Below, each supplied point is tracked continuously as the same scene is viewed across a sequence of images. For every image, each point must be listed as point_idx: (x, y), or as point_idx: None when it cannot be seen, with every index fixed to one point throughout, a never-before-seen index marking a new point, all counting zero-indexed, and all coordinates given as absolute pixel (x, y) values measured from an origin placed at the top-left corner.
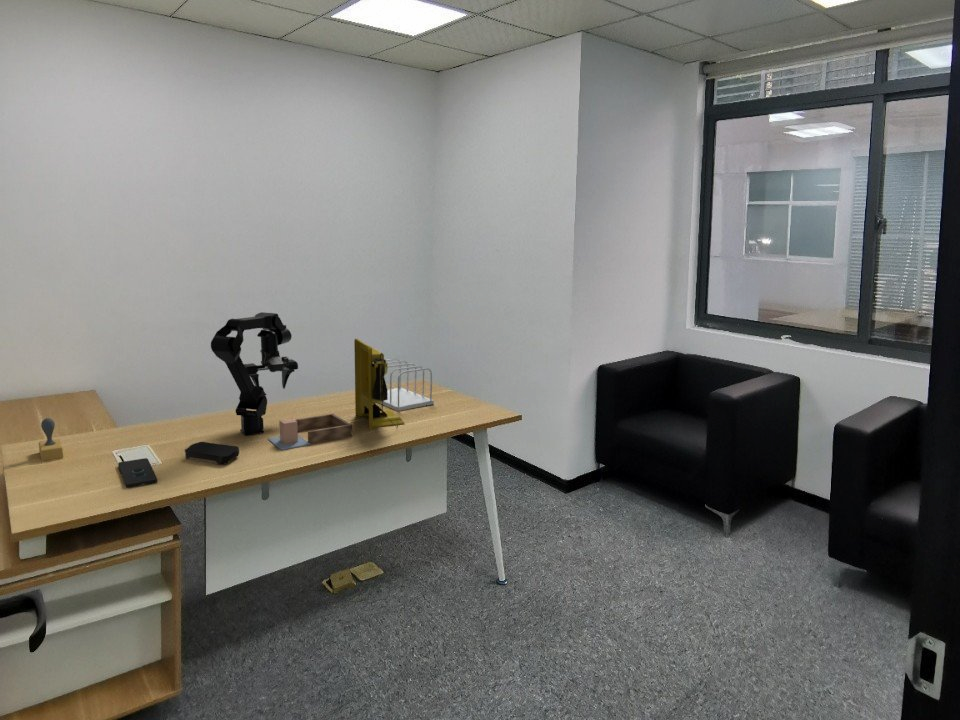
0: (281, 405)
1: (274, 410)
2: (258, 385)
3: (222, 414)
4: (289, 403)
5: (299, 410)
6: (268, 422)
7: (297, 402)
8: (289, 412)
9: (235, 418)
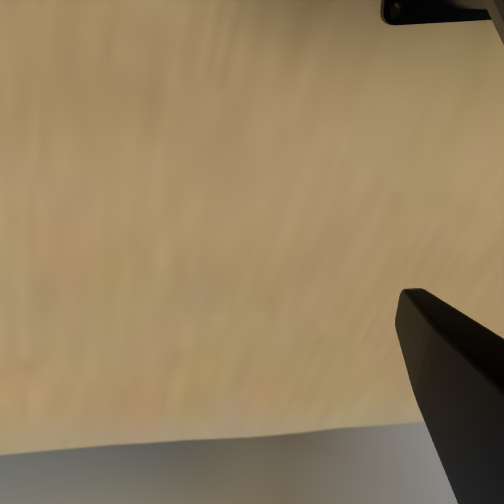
0: (107, 417)
1: (157, 363)
2: (492, 363)
3: None
4: (63, 429)
5: (10, 312)
6: (253, 151)
7: (20, 429)
8: (76, 300)
9: None
